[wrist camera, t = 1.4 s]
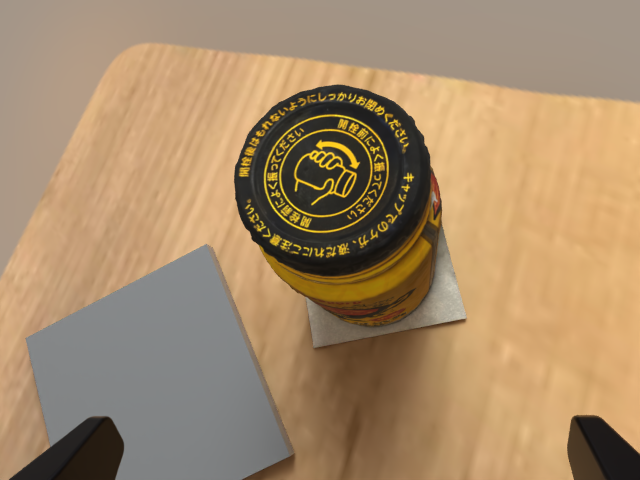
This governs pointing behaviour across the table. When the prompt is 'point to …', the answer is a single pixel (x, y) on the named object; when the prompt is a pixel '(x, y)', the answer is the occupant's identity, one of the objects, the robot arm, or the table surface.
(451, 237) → the table surface
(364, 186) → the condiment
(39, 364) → the coaster board
